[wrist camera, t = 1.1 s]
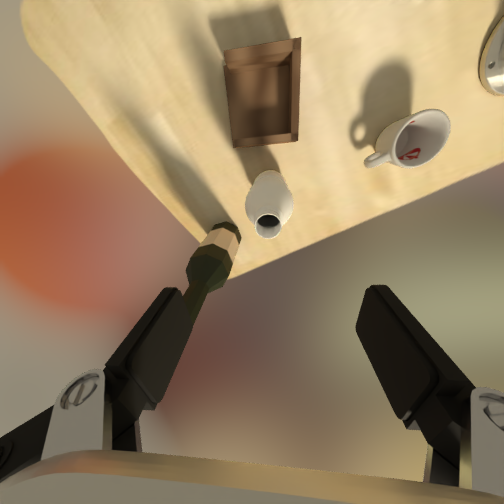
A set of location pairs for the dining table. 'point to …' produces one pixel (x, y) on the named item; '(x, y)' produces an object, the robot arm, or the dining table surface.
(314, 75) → the dining table surface
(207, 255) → the wine bottle
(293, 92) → the open wooden box
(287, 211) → the water bottle
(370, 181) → the dining table surface
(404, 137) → the cup
